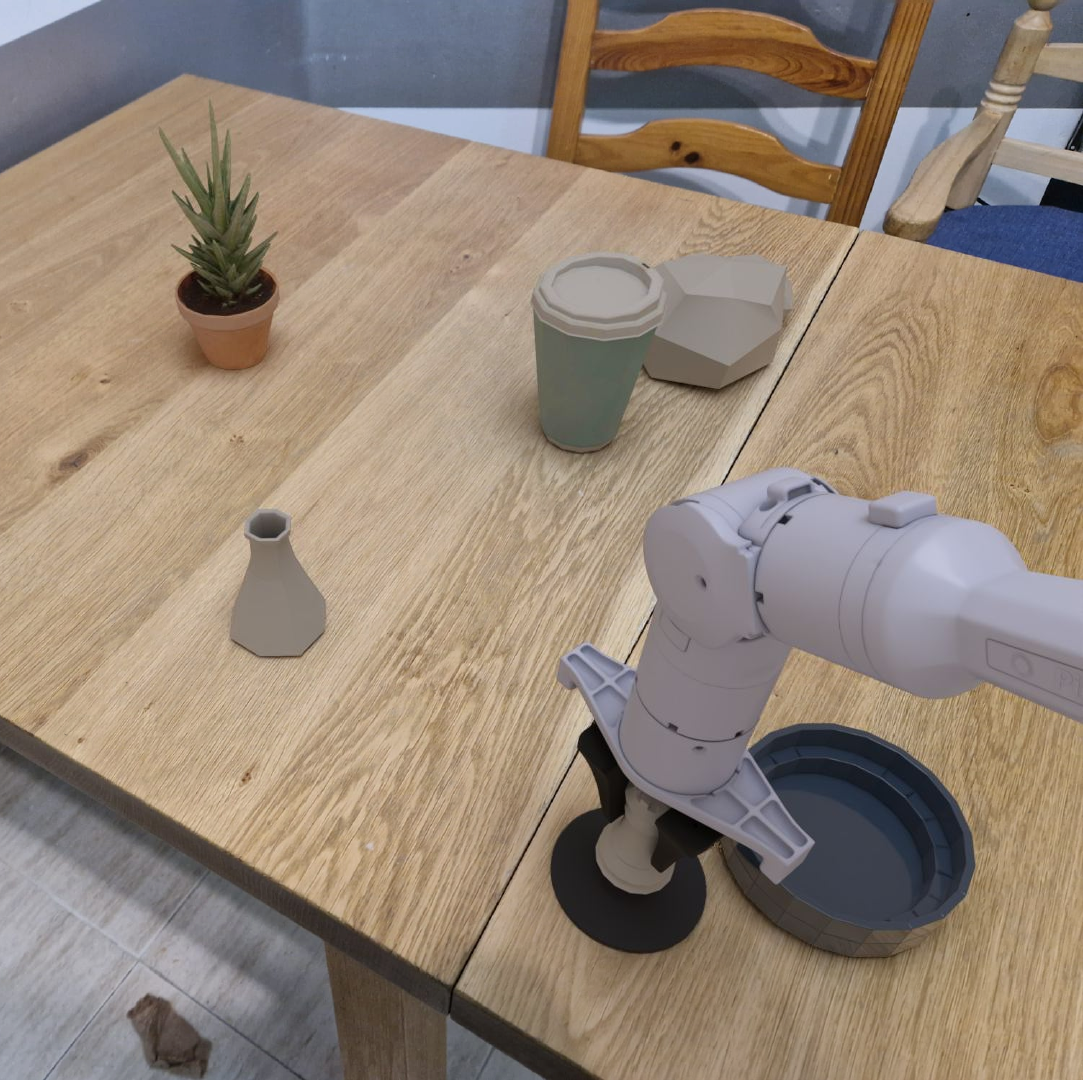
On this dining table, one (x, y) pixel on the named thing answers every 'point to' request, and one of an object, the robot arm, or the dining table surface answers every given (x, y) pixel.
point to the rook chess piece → (633, 845)
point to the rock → (718, 318)
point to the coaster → (622, 894)
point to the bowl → (858, 842)
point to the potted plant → (224, 265)
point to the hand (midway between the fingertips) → (643, 834)
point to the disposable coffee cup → (592, 343)
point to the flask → (275, 592)
